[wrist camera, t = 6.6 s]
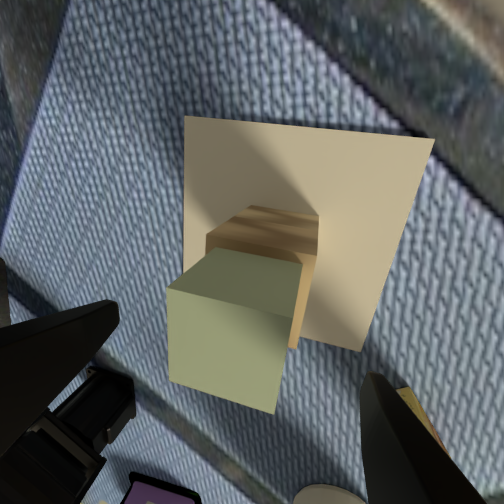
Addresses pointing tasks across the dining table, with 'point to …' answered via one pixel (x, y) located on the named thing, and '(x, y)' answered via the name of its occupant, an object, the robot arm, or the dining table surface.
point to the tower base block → (280, 217)
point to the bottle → (326, 495)
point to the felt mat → (309, 205)
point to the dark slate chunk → (4, 297)
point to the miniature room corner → (157, 492)
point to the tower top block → (272, 252)
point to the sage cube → (232, 326)
